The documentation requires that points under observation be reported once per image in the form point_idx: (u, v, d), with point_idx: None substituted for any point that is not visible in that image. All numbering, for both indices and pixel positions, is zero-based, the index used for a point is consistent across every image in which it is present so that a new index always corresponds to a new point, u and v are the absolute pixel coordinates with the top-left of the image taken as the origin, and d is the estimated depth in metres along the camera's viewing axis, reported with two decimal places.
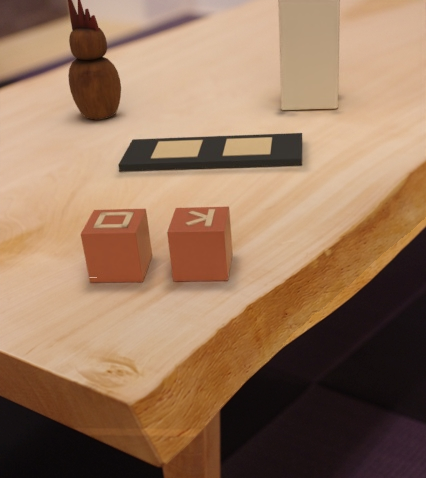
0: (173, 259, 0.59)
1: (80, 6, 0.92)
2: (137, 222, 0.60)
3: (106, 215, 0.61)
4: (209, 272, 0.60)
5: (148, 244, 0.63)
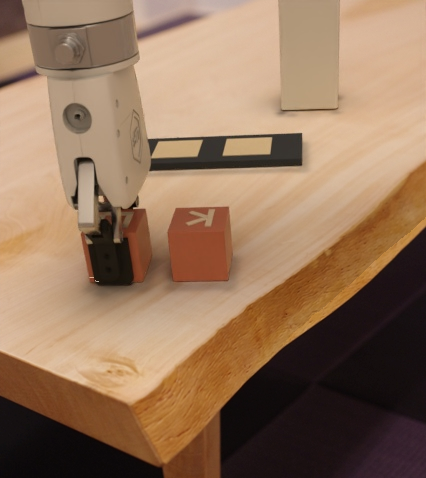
0: (173, 259, 0.59)
1: None
2: (137, 222, 0.60)
3: (106, 215, 0.61)
4: (209, 272, 0.60)
5: (148, 244, 0.63)
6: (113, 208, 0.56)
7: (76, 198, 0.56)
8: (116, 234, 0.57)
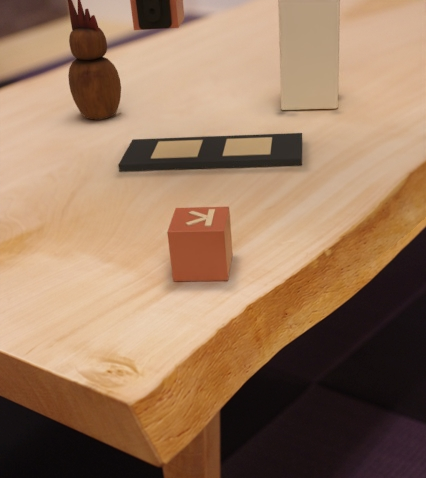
0: (173, 259, 0.59)
1: (80, 6, 0.92)
2: None
3: None
4: (209, 272, 0.60)
5: (181, 3, 0.75)
6: None
7: None
8: None
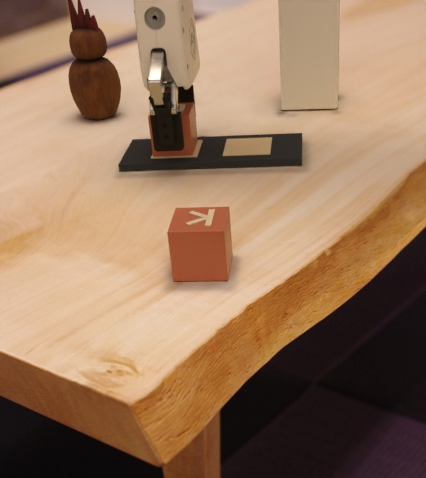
0: (173, 259, 0.59)
1: (80, 6, 0.92)
2: (189, 109, 0.81)
3: None
4: (209, 272, 0.60)
5: (195, 130, 0.84)
6: (173, 85, 0.75)
7: None
8: (173, 103, 0.75)
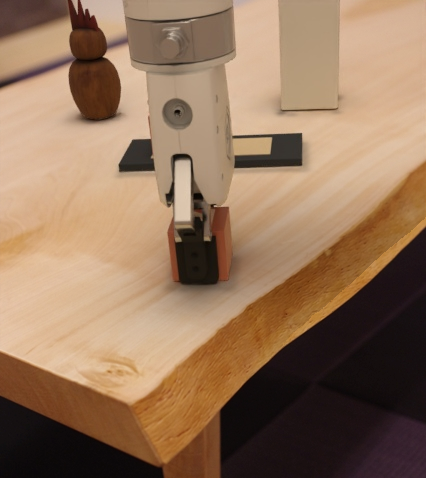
0: (173, 259, 0.59)
1: (80, 6, 0.92)
2: None
3: None
4: None
5: None
6: (205, 206, 0.55)
7: (167, 195, 0.55)
8: (207, 232, 0.56)
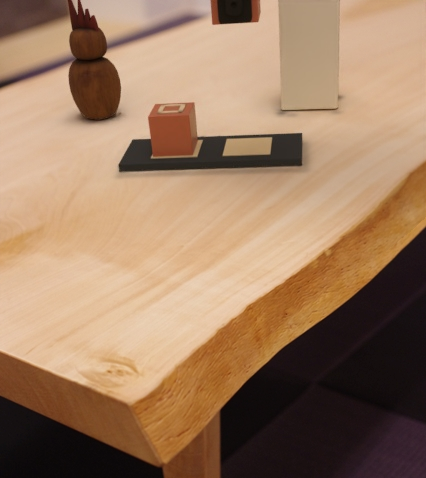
0: (213, 2, 0.71)
1: (80, 6, 0.92)
2: (189, 109, 0.81)
3: (165, 106, 0.82)
4: None
5: (195, 130, 0.84)
6: None
7: None
8: None
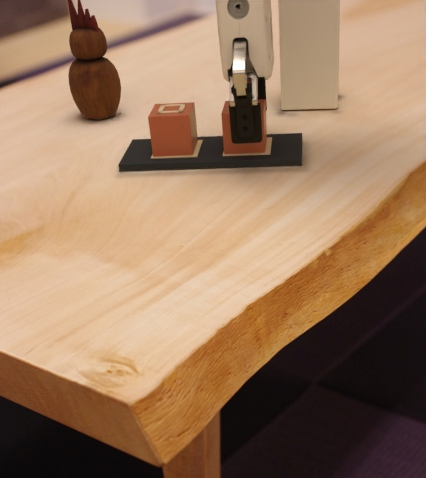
0: (225, 135, 0.80)
1: (80, 6, 0.92)
2: (189, 109, 0.81)
3: (165, 106, 0.82)
4: (251, 146, 0.80)
5: (195, 130, 0.84)
6: (254, 75, 0.74)
7: (227, 74, 0.76)
8: (254, 94, 0.74)
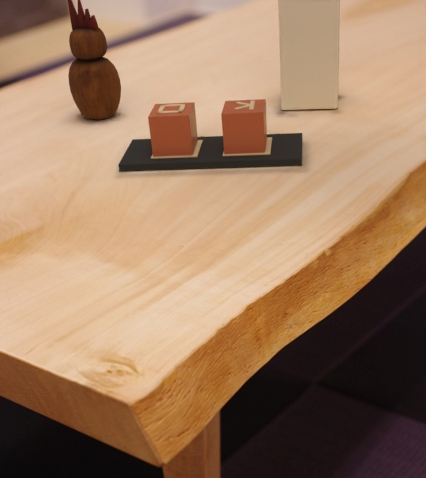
0: (225, 135, 0.80)
1: (80, 6, 0.92)
2: (189, 109, 0.81)
3: (165, 106, 0.82)
4: (251, 146, 0.80)
5: (195, 130, 0.84)
6: None
7: None
8: None
